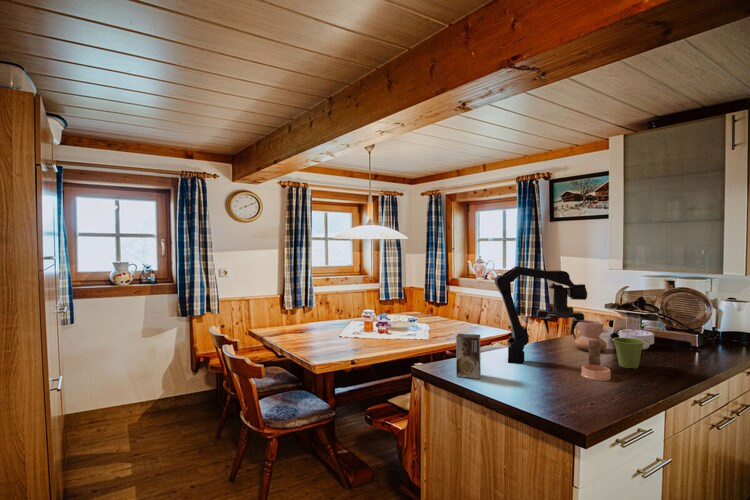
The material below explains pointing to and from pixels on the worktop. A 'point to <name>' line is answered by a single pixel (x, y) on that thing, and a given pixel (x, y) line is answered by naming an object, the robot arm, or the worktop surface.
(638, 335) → the paper bowls
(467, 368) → the coffee box
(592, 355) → the tall square post
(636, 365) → the plant pot
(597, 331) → the ceramic jug
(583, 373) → the tan shallow dish
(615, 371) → the worktop surface
